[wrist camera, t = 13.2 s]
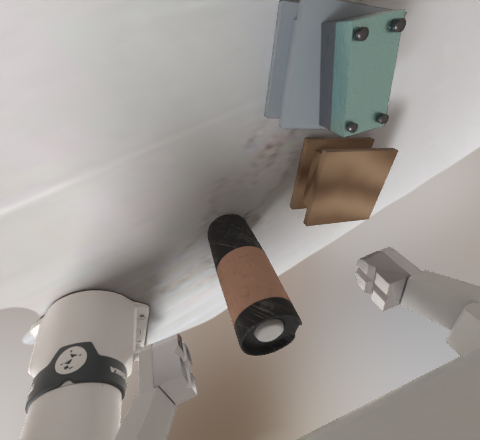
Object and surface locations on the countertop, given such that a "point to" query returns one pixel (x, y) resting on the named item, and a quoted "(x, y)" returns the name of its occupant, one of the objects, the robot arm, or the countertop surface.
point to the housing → (358, 70)
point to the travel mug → (251, 288)
